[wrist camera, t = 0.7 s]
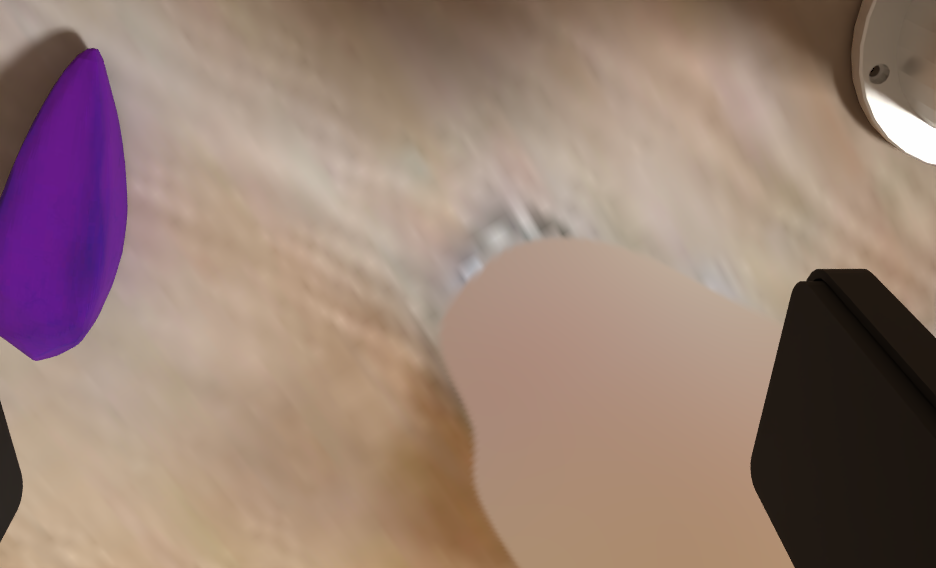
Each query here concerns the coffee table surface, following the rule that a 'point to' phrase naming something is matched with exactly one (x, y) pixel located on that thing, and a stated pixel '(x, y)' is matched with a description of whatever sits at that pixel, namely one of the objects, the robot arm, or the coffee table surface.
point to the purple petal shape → (63, 215)
